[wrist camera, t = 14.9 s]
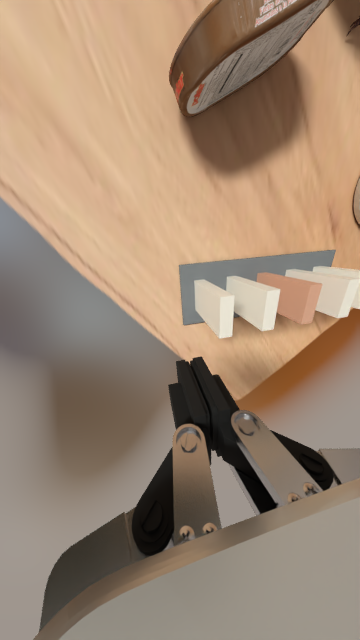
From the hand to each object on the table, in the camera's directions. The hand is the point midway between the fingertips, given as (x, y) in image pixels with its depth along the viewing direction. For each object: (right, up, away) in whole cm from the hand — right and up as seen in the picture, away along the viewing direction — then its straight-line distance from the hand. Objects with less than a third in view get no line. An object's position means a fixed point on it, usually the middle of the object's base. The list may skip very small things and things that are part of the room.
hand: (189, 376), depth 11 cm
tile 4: (+19, +10, +19) cm, 29 cm away
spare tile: (+13, +9, +18) cm, 25 cm away
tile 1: (+3, +8, +17) cm, 19 cm away
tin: (+5, +30, +8) cm, 32 cm away
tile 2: (+8, +9, +18) cm, 21 cm away
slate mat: (+13, +10, +19) cm, 25 cm away
